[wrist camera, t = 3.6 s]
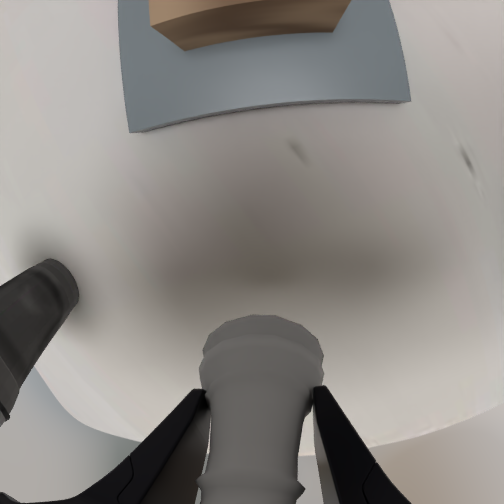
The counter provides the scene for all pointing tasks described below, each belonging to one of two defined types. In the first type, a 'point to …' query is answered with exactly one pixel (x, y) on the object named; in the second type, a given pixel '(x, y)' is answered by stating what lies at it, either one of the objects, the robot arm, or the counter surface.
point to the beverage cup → (30, 322)
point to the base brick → (241, 19)
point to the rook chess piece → (257, 408)
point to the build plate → (258, 68)
